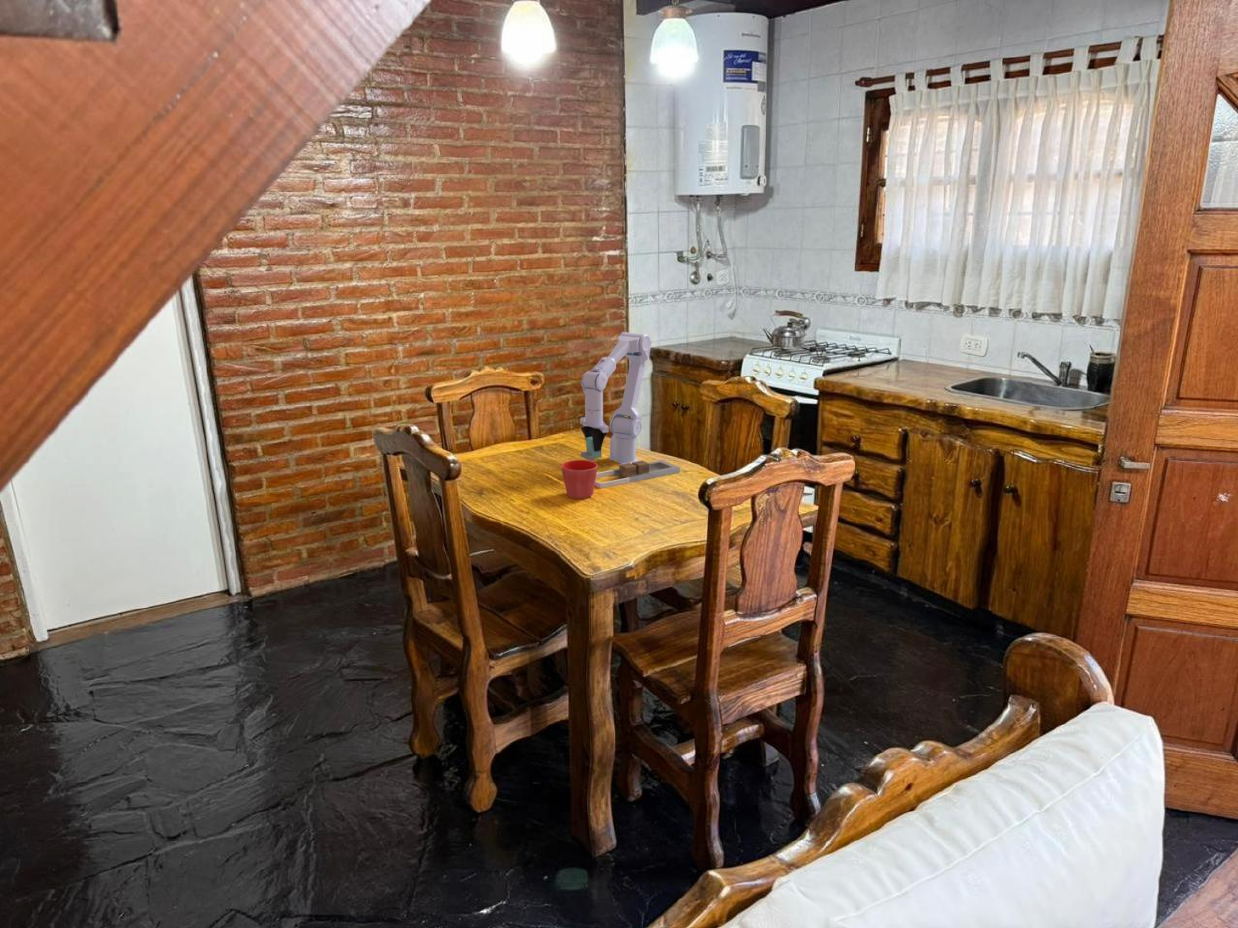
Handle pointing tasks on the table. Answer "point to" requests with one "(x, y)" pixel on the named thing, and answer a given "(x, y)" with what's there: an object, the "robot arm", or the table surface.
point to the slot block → (653, 471)
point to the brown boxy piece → (626, 470)
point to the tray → (610, 483)
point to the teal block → (590, 450)
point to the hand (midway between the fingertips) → (594, 449)
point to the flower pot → (579, 478)
